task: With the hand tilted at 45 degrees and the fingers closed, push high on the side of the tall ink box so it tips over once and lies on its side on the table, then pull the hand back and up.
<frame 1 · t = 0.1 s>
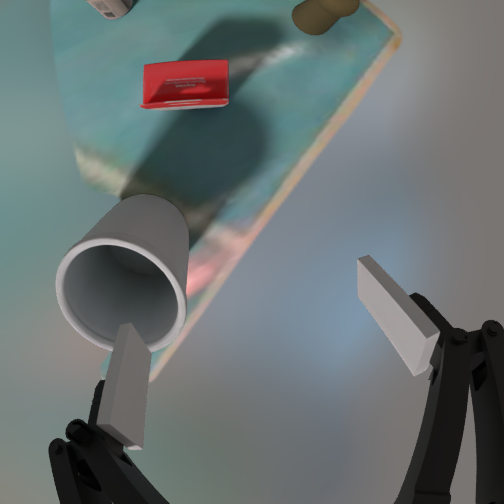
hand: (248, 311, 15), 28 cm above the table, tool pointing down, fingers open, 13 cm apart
beer can: (118, 7, 24), on the table
cork: (311, 18, 29), on the table
utensil holder: (144, 235, 41), on the table
ink box: (191, 92, 33), on the table
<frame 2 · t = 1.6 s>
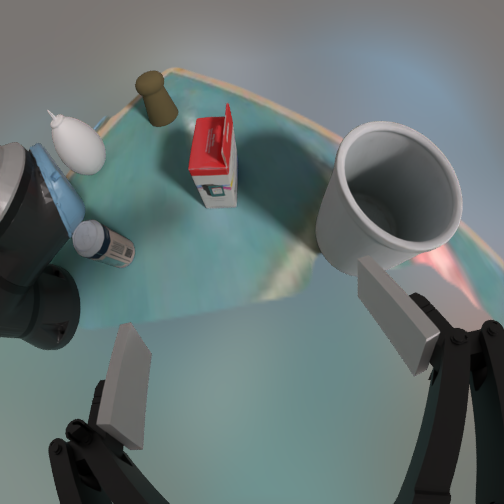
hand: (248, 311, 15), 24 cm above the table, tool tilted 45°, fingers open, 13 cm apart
beer can: (123, 253, 42), on the table, touching arm
cork: (163, 116, 49), on the table
air blower bulb: (97, 167, 47), on the table
utensil holder: (357, 234, 41), on the table
ink box: (223, 185, 44), on the table
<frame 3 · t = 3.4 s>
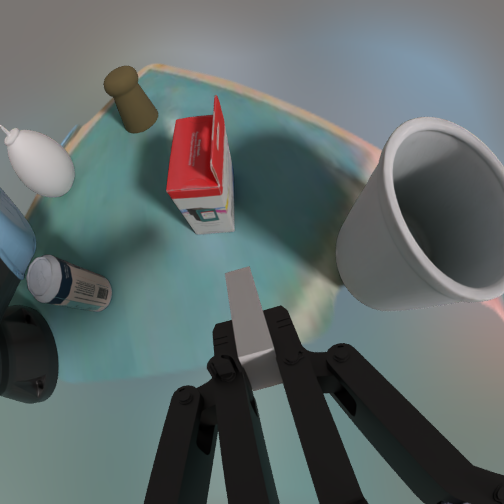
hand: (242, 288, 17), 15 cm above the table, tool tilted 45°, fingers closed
beer can: (99, 293, 33), on the table
cork: (141, 120, 40), on the table
air blower bulb: (67, 186, 38), on the table
utensil holder: (385, 258, 32), on the table
ink box: (216, 203, 35), on the table
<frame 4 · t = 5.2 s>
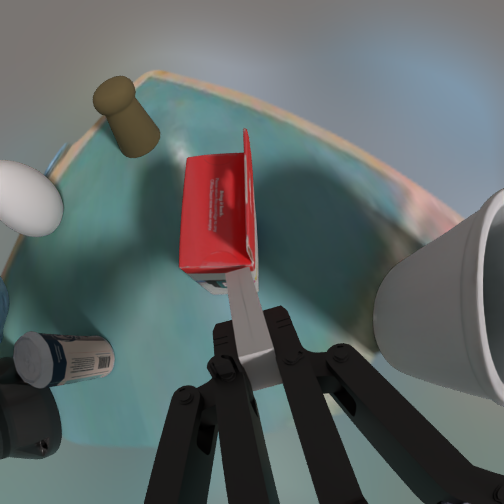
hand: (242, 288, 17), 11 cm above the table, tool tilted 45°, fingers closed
beer can: (100, 356, 27), on the table
cork: (140, 141, 35), on the table
air blower bulb: (56, 221, 32), on the table
utensil holder: (422, 317, 27), on the table
ink box: (234, 255, 29), on the table, touching gripper
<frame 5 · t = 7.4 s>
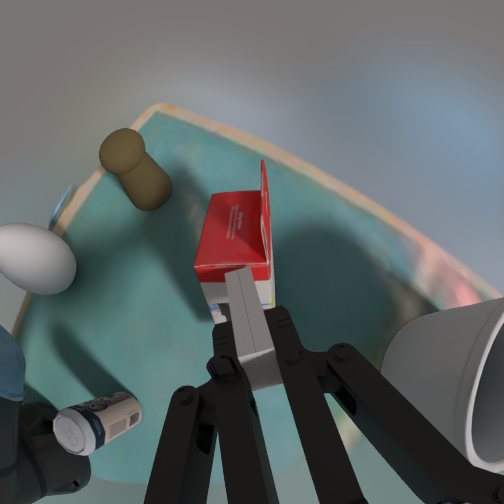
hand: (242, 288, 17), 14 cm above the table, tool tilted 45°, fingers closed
beer can: (127, 408, 28), on the table
cork: (151, 190, 35), on the table
air blower bulb: (69, 272, 33), on the table
utensil holder: (425, 370, 27), on the table
ink box: (251, 315, 28), point 2 cm above the table
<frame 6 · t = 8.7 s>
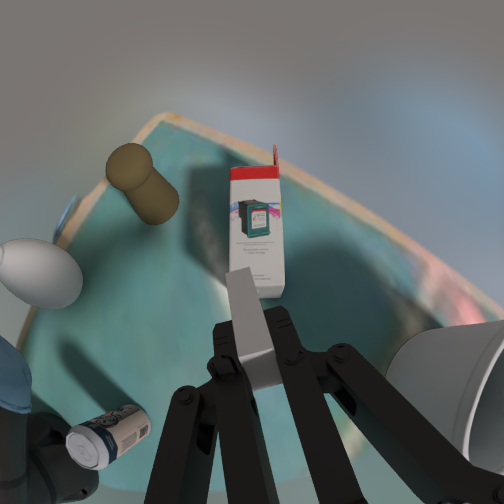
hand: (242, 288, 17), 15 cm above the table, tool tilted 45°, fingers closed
beer can: (135, 420, 28), on the table
cork: (158, 204, 36), on the table
air blower bulb: (75, 285, 33), on the table
utensil holder: (426, 383, 27), on the table
ink box: (259, 295, 27), point 4 cm above the table
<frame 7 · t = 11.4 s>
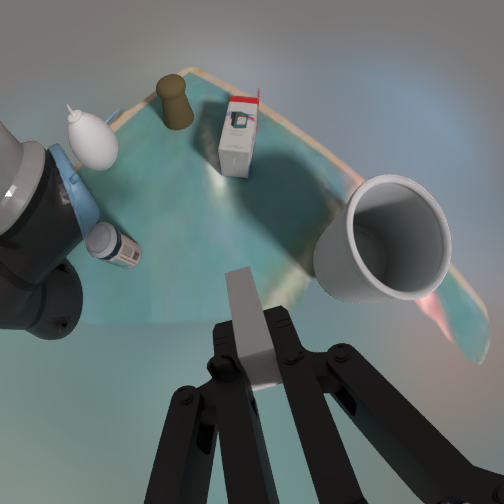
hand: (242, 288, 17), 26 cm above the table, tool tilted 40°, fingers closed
beer can: (129, 255, 44), on the table, touching arm
cork: (179, 119, 50), on the table
air blower bulb: (108, 162, 47), on the table
utensil holder: (350, 263, 45), on the table
ink box: (234, 166, 43), point 4 cm above the table
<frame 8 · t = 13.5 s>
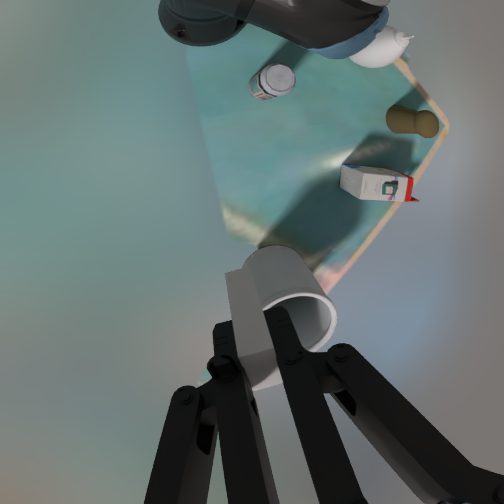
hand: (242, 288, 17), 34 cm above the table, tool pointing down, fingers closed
beer can: (261, 86, 41), on the table
cork: (396, 119, 47), on the table
air blower bulb: (353, 51, 40), on the table
utensil holder: (271, 273, 59), on the table
ink box: (349, 180, 47), point 4 cm above the table
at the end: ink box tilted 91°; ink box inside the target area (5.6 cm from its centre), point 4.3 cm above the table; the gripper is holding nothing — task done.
